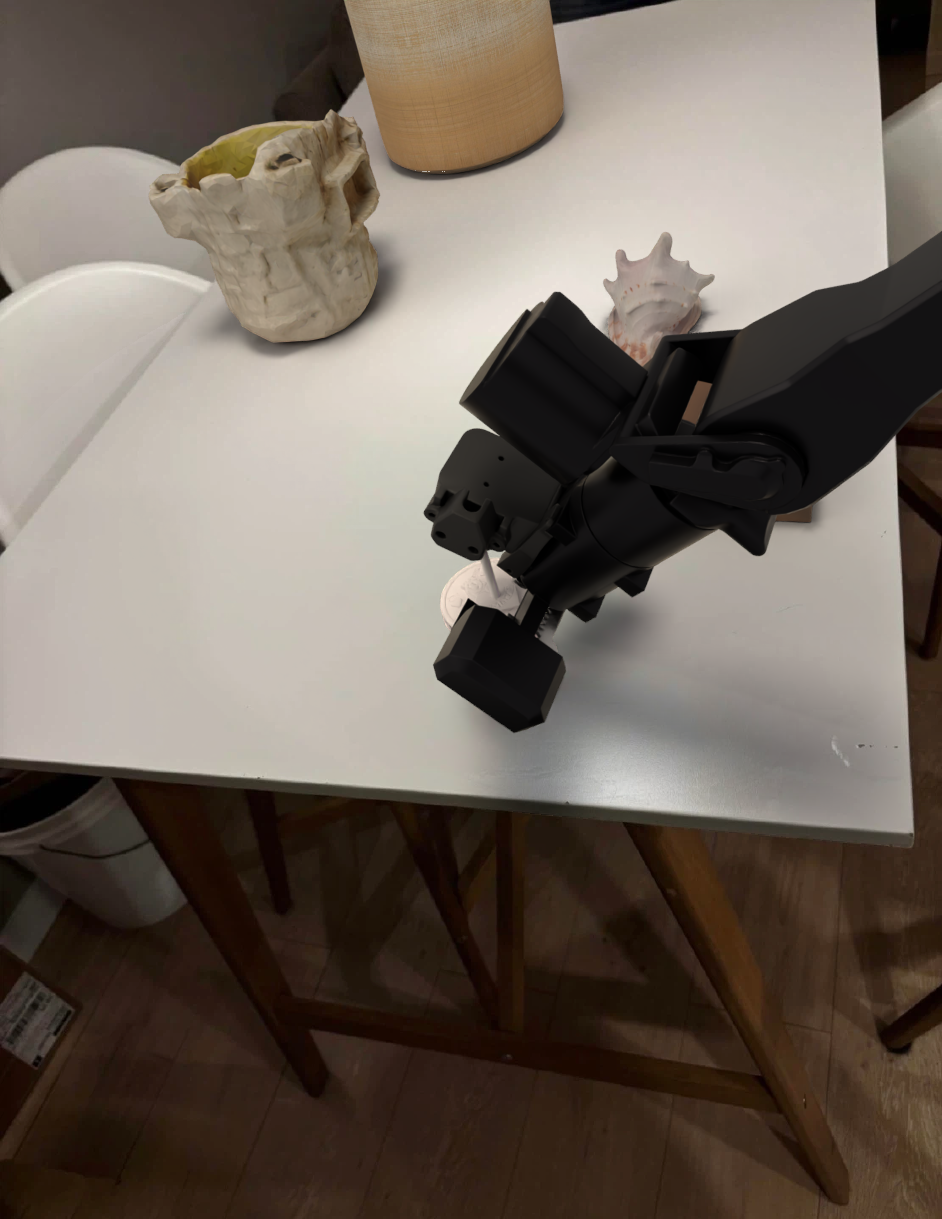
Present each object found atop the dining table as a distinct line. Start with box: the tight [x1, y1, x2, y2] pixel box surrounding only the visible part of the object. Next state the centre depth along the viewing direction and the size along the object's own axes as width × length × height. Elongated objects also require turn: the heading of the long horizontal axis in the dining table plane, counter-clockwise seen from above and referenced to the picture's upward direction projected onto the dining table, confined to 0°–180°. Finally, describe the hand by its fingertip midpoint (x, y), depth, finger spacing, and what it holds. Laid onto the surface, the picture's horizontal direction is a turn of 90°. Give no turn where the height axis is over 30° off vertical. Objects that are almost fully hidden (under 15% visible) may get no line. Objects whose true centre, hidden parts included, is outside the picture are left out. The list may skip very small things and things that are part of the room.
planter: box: [343, 0, 565, 175], centre depth 116 cm, size 25×25×22 cm
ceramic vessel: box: [148, 109, 381, 344], centre depth 96 cm, size 23×24×25 cm
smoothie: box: [439, 551, 538, 637], centre depth 56 cm, size 6×6×14 cm
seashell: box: [602, 231, 716, 366], centre depth 81 cm, size 10×12×9 cm
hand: (477, 616), depth 57 cm, fingers closed on smoothie, 6 cm apart
